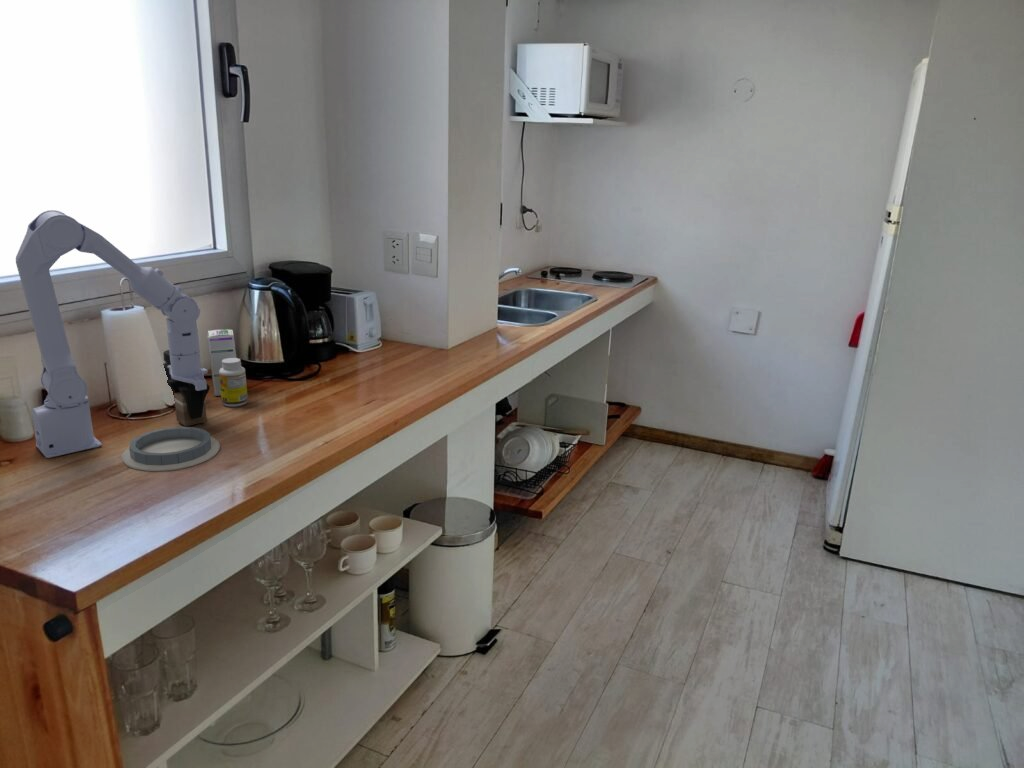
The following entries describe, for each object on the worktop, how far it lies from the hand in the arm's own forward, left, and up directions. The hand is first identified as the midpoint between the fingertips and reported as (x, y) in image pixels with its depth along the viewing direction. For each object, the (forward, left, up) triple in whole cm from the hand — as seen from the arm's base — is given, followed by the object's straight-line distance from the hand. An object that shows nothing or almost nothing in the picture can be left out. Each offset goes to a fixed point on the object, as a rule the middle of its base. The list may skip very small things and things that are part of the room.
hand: (191, 414), depth 159 cm
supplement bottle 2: (+12, +6, -2) cm, 14 cm away
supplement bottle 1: (+3, +14, -2) cm, 14 cm away
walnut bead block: (0, 0, -1) cm, 1 cm away
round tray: (-9, -13, -2) cm, 16 cm away
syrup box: (+14, +15, -2) cm, 21 cm away
